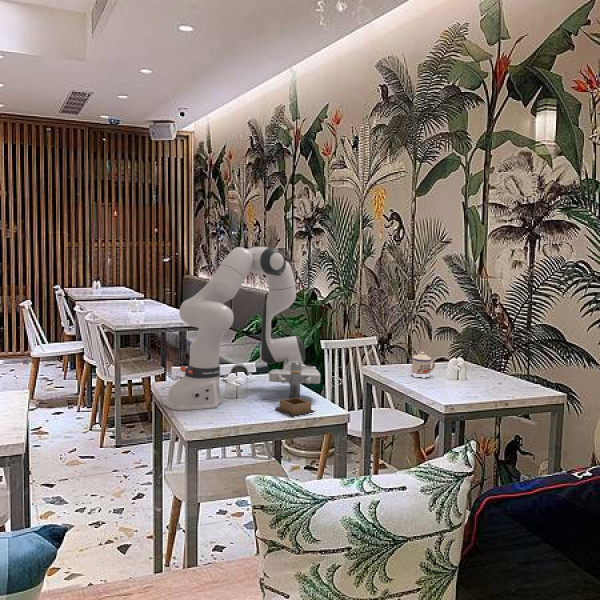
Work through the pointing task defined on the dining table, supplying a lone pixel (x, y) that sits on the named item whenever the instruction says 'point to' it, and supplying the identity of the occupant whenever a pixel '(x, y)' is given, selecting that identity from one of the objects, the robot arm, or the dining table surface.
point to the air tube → (295, 380)
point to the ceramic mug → (238, 369)
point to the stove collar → (294, 407)
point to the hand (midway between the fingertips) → (295, 381)
